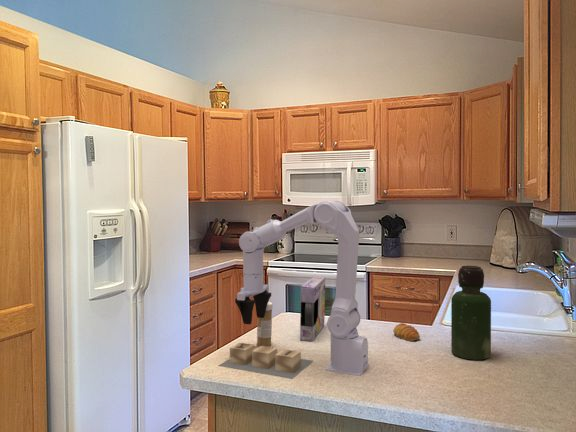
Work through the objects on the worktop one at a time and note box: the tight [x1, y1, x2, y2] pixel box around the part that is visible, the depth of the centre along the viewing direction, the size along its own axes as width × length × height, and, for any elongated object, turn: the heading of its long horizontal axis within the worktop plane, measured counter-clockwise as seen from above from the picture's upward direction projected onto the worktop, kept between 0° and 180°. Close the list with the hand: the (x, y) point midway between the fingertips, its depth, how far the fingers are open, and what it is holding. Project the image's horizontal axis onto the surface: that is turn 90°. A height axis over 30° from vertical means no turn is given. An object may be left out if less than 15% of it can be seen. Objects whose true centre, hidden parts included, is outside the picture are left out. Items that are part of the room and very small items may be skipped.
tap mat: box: [217, 358, 315, 380], centre depth 125 cm, size 22×14×1 cm, turn 64°
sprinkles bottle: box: [256, 301, 273, 348], centre depth 140 cm, size 5×5×13 cm
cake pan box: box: [299, 276, 326, 342], centre depth 154 cm, size 19×5×18 cm, turn 164°
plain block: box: [252, 346, 278, 369], centre depth 124 cm, size 5×5×4 cm
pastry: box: [392, 322, 421, 342], centre depth 149 cm, size 9×7×4 cm
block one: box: [275, 348, 302, 373], centre depth 121 cm, size 5×5×4 cm
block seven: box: [229, 342, 256, 365], centre depth 127 cm, size 5×5×4 cm
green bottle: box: [450, 265, 492, 361], centre depth 131 cm, size 10×10×25 cm
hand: (254, 320), depth 133 cm, fingers open, 7 cm apart
